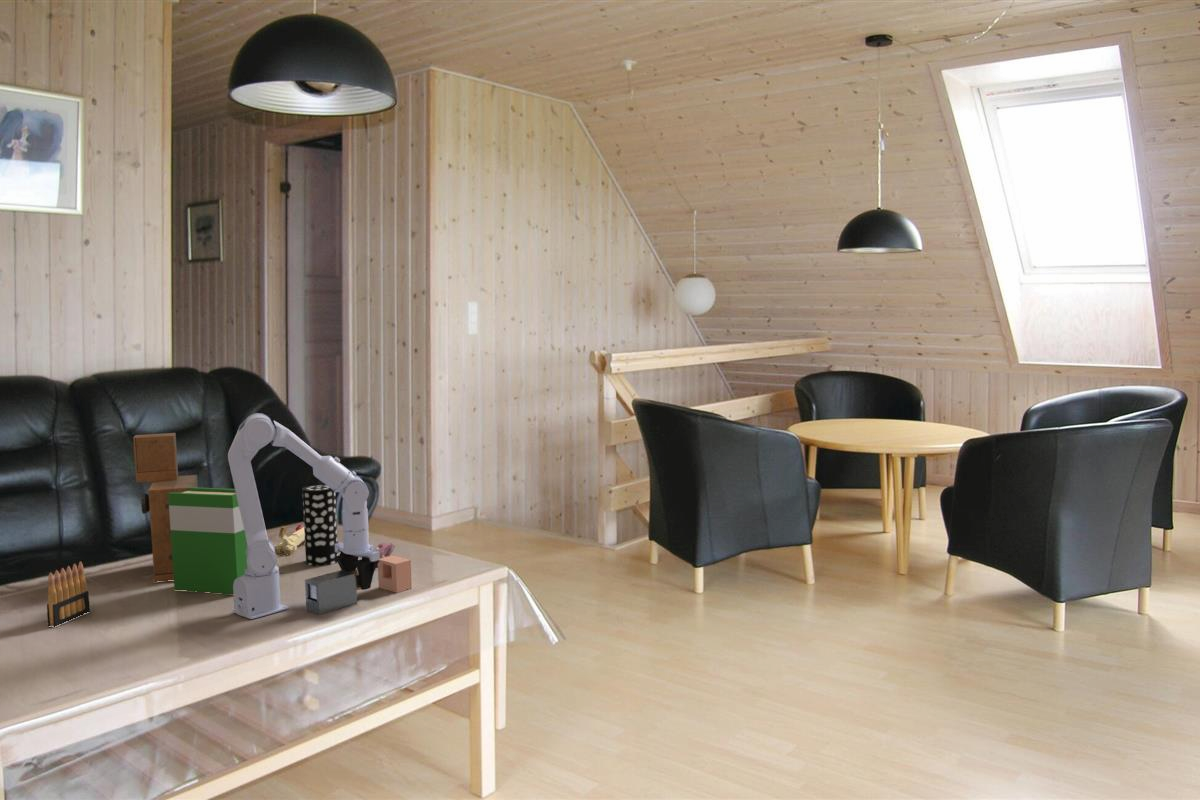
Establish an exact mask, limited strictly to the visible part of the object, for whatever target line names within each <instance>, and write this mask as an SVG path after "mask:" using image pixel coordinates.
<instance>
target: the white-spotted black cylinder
mask: <svg viewBox="0 0 1200 800" xmlns="http://www.w3.org/2000/svg"><path fill="white" fill-rule="evenodd" d="M301 491H302V492H301V493H302V508H303V510H302V512H303V527H304V533H305V540H304V548H305V549H304V550H305V551H304V553H305V565H307V566H310V565H312V566H311V567H324V566H330V564H331V565H333V564H336V563H338V562H337V561H336V560H335V556H338V555H339V552H335V544H337V543H339V542H338V524H337V520H338V519H337V505H336V504H337V501H336V500H337V499H336V492H335V491H334V490H332V489H331V488H330V487H328V486H327V485H326V484H316V485H308V486H304V487H303V488H302V489H301Z"/></svg>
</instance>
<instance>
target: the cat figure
mask: <svg viewBox="0 0 1200 800" xmlns="http://www.w3.org/2000/svg"><path fill="white" fill-rule="evenodd" d="M302 525H304V522H301V523H300V524H298V525H297V526H296V527H295V531H294V532H293V533H292V534H291V535H289V536H287V535H286V533H287V527H286V526H281V527H280V530H279V534H278V537H279V539H280V540H282V541H281V542H280V543H279V544H273V545H274V547H275V553H276V555H277V554H278V555H280V554H281V553H282V551H283V553H284V554H285V555H286V556H290V554H291V555H292V554H293V553H294V552H295V551H297V549H298V546H300V544H301V543H303V542H305V533H304V526H303V527H302ZM287 554H288V555H287Z"/></svg>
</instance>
